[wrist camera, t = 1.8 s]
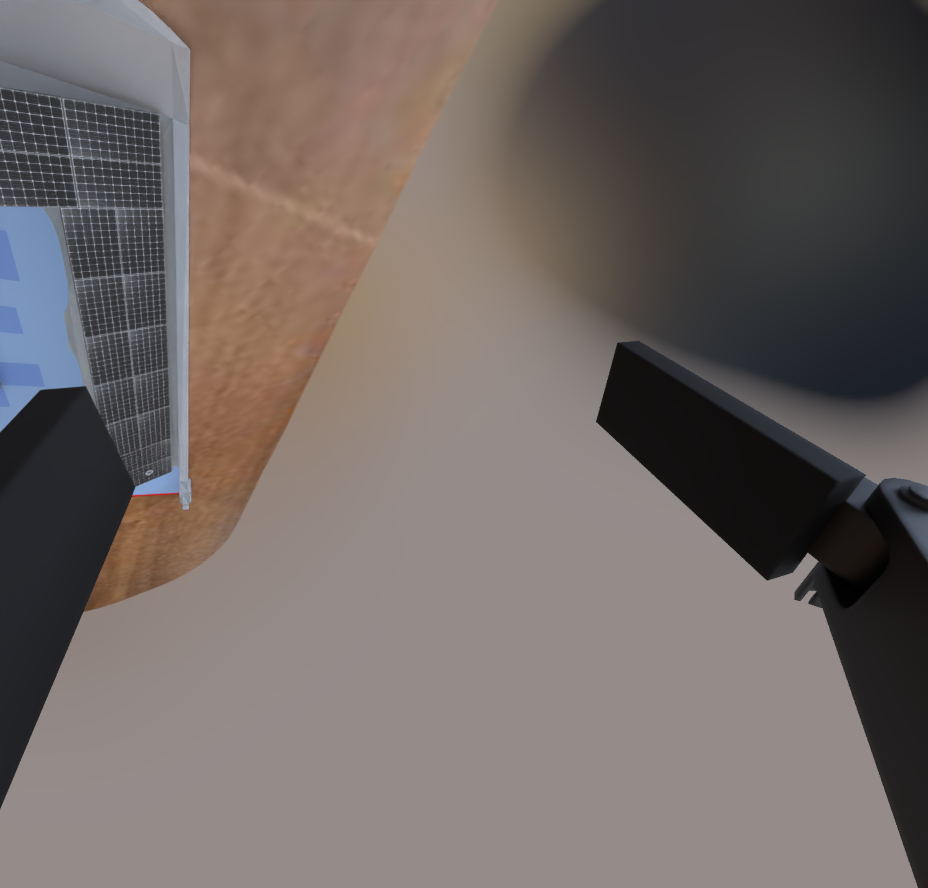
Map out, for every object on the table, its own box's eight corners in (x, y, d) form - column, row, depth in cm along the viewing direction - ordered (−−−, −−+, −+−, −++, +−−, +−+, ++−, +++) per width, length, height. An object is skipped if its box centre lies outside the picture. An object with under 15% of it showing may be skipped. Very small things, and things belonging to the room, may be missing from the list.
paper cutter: (-31, 504, 42) (-47, 556, 39) (-506, -319, 13) (-706, -364, 10) (190, 491, 52) (191, 532, 49) (195, 6, 23) (199, 32, 20)
